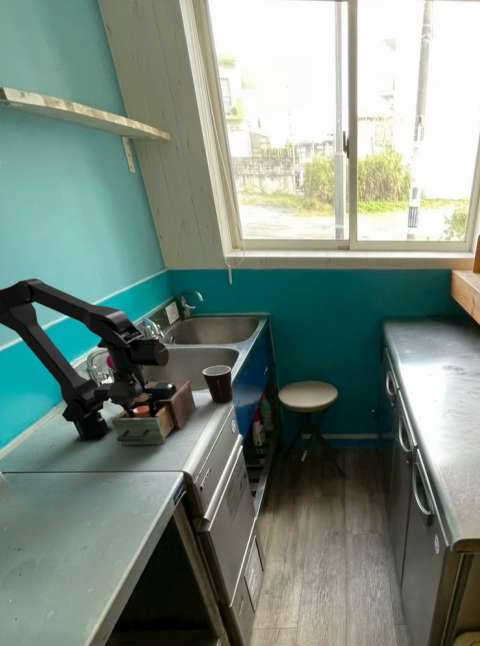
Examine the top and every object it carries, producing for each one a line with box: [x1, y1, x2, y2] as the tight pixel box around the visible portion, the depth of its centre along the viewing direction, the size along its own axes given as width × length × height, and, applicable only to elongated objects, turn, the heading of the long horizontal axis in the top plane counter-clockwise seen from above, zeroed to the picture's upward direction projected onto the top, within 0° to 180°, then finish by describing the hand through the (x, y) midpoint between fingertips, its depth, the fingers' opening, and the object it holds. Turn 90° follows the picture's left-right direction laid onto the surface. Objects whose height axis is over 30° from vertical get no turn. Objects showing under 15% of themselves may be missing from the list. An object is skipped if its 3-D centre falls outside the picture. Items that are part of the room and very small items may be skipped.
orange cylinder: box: [133, 406, 152, 418], centre depth 105 cm, size 4×6×5 cm
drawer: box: [111, 404, 176, 446], centre depth 106 cm, size 18×11×7 cm, turn 2°
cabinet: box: [134, 380, 197, 431], centre depth 116 cm, size 15×13×9 cm
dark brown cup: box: [202, 365, 234, 405], centre depth 126 cm, size 12×9×10 cm
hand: (146, 420), depth 106 cm, fingers closed on orange cylinder, 4 cm apart
